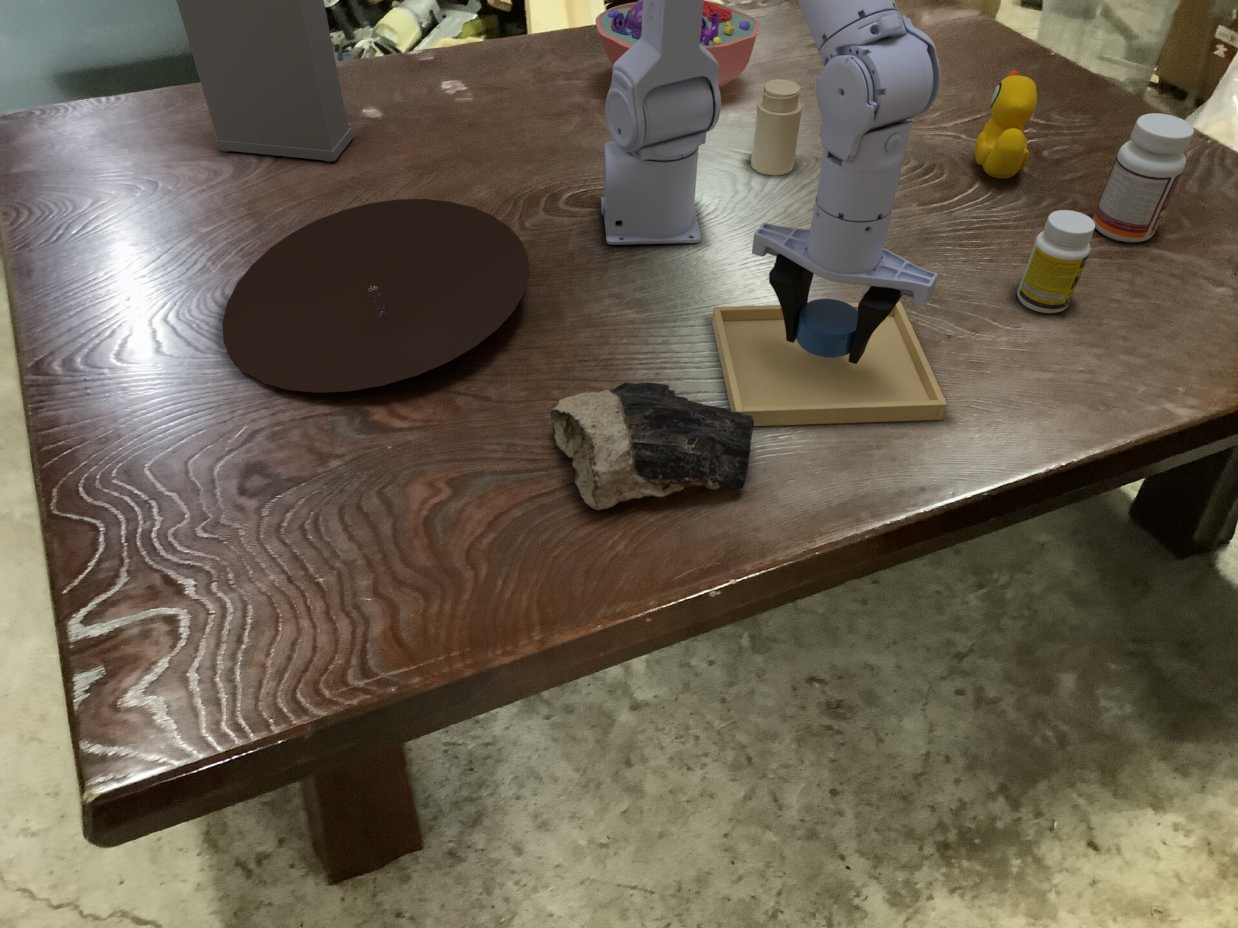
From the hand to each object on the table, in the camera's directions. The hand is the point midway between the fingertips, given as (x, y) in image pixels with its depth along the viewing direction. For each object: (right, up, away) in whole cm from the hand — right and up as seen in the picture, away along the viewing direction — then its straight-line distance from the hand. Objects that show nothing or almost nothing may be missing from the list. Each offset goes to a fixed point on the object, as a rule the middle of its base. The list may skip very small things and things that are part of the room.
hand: (825, 346), depth 83 cm
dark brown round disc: (-40, +5, +8) cm, 41 cm away
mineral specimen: (-14, -9, -6) cm, 18 cm away
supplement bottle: (+22, +5, +9) cm, 25 cm away
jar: (0, +24, +27) cm, 36 cm away
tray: (0, -2, +2) cm, 2 cm away
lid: (0, +2, -2) cm, 3 cm away
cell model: (-10, +37, +41) cm, 57 cm away
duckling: (+25, +23, +27) cm, 43 cm away
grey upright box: (-56, +27, +30) cm, 68 cm away
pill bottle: (+35, +14, +18) cm, 42 cm away
